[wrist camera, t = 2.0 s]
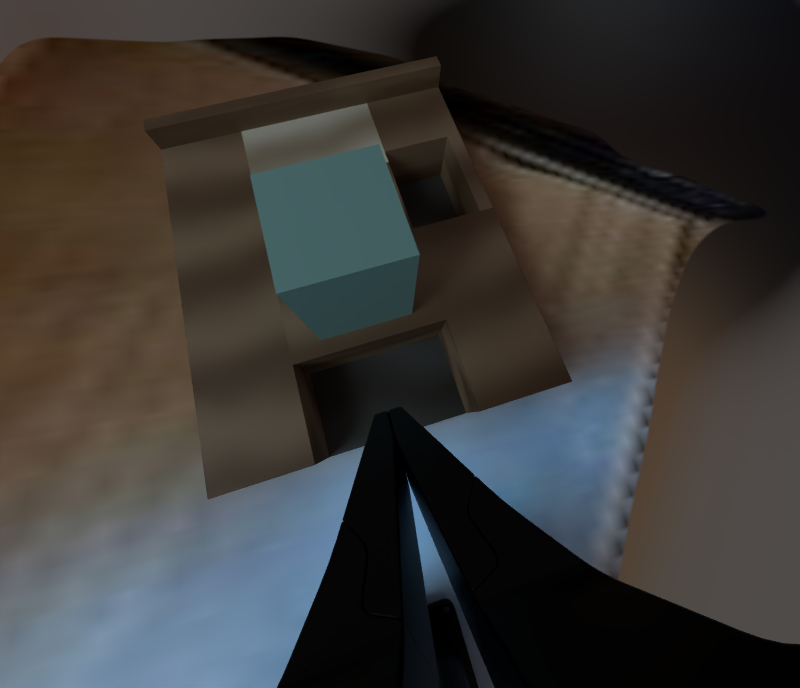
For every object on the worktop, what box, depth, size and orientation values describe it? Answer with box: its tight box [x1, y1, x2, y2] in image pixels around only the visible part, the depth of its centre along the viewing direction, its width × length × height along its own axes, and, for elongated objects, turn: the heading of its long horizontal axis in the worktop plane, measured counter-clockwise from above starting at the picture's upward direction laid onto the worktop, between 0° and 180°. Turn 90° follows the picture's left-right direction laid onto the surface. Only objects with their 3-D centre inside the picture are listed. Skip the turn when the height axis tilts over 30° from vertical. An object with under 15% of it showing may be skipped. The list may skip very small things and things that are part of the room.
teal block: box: [250, 144, 420, 340], centre depth 16 cm, size 6×6×7 cm
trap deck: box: [144, 56, 572, 499], centre depth 21 cm, size 26×22×6 cm
